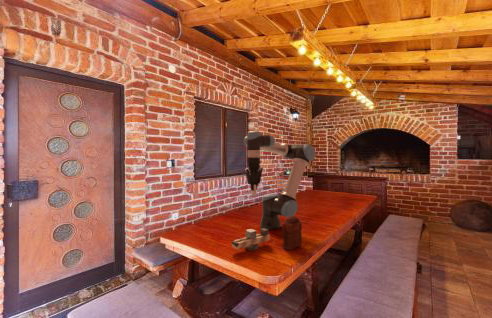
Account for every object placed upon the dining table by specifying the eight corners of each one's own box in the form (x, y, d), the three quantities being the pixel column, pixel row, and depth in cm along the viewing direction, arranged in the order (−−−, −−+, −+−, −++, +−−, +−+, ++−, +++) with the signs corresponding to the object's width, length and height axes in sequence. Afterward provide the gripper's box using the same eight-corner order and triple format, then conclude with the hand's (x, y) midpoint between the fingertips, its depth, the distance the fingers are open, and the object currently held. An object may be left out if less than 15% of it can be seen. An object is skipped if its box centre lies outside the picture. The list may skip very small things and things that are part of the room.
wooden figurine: (295, 243, 152) (295, 213, 151) (302, 246, 147) (302, 216, 146) (280, 247, 146) (280, 216, 145) (287, 251, 141) (287, 219, 140)
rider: (250, 241, 142) (250, 232, 141) (245, 238, 146) (245, 230, 146) (256, 240, 144) (256, 231, 144) (251, 237, 148) (251, 228, 148)
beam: (237, 255, 136) (237, 238, 136) (231, 251, 141) (231, 235, 141) (270, 245, 149) (270, 230, 149) (264, 242, 154) (263, 227, 154)
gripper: (248, 157, 147) (248, 197, 148) (266, 156, 154) (266, 195, 155) (241, 157, 153) (241, 195, 154) (258, 156, 160) (258, 193, 162)
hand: (254, 195), depth 155 cm, fingers closed
